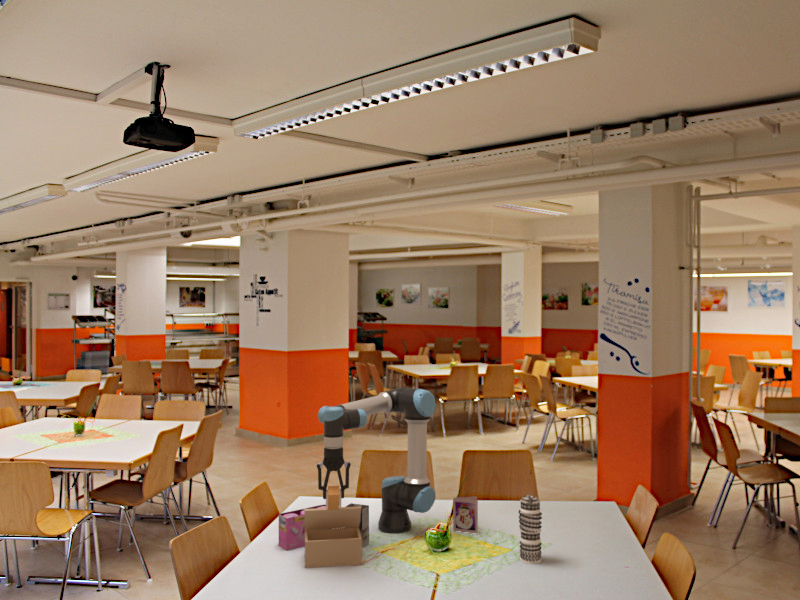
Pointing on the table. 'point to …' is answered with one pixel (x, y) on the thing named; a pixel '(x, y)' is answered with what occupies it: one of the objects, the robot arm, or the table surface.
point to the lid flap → (332, 514)
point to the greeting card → (465, 514)
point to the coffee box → (363, 523)
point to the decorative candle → (530, 529)
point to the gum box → (293, 528)
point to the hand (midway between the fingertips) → (333, 506)
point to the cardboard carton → (333, 547)
